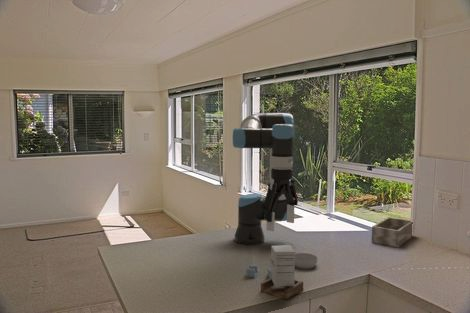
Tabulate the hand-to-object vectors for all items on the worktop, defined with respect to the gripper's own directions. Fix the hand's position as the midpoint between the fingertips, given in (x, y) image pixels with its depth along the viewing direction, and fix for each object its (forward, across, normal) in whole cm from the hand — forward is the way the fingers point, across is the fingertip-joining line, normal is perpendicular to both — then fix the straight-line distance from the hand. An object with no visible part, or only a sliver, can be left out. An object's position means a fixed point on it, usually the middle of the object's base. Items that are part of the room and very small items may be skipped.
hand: (280, 226), depth 150 cm
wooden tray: (+23, -2, -2) cm, 23 cm away
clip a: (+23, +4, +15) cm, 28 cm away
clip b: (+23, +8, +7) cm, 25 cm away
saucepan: (+24, +26, +8) cm, 36 cm away
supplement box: (+20, -2, -2) cm, 20 cm away
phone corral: (+24, +89, -13) cm, 93 cm away
